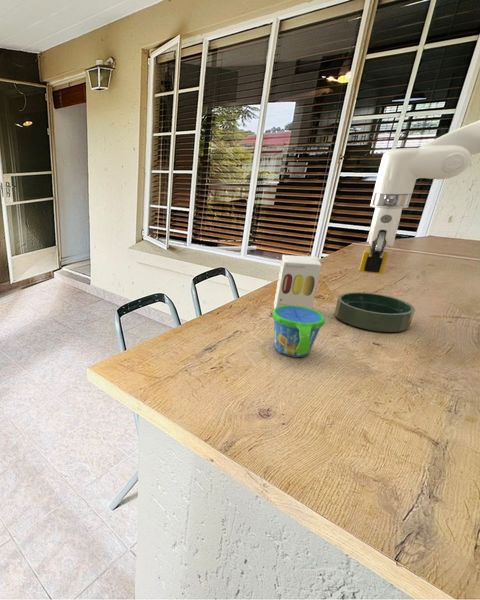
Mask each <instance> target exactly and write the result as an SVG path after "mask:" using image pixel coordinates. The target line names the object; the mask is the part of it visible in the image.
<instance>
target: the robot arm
mask: <svg viewBox="0 0 480 600" xmlns="http://www.w3.org/2000/svg"><path fill="white" fill-rule="evenodd" d="M476 154H480V119H479V120H477V121H476V120H475V121H474V122H472V123H469V124H467V125H464V126H461V127H458V128H456V129H453V130H451V131H449V132H447V133H444V134H443V135H440V136H439V137H437V138H435V139H432V140H431V141H428V142H426V143H424V144H422V145H421V146H419V147H403V148H401V147H399V148H391V149H388V150H386V151H385V152H384V153H383V155H382V157H381V161H380V165H379V168H378V172H377V175H376V176H377V177H376V181H375V185H374V188H373V192H372V196H371V201H370V204H369V207H371V208H374V211H373V216H372V220H371V224H370V229H369V235H368V245H369V246H370V247H369V250H370V254H369V257H367V260H366V264H365V268H364V271H367V272H376V273H378V272H379V271H380V267H381V263H382V260H383V258H382V256H383V253H384V252H385V249H386V247H388V248H389V249H390V248H393V247H394V244H395V239H396V235H397V232H398V229H399V225H400V222H401V221H400V220H401V216H402V211H403V209H407V208H409V204H410V203H411V198H412V195H413V191H414V188H415V185H416V182H417V179H428V180H445V179H446V180H447V179H451V178H454V177H457V176H458V175H460V174H463V172H465V171H466V170H467V169H468V168H469V166H470V165H471V161H472V156H473V155H476Z"/></svg>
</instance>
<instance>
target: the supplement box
mask: <svg viewBox="0 0 480 600" xmlns="http://www.w3.org/2000/svg"><path fill="white" fill-rule="evenodd" d="M281 256H282V257H281V261H280V267H279V273H278V279H277V282H276V283H277V284H276V289H275V290H276V291H275V295H274V299H273V300H274V301H273V310H274V309H275V308H277V307H280V306H301V307H306V308H310V309H313V306H314V302H315V297H316V292H317V288H318V283H319V279H320V274H321V270H322V269H321V268H322V263H321V262H320V261H321V260H320V259H319V258H318V256H315V255H314V256H311V255H309V256H308V255H307V256H306V255H294V254H293V255H290V254H282V255H281Z"/></svg>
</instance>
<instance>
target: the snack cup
mask: <svg viewBox="0 0 480 600" xmlns="http://www.w3.org/2000/svg"><path fill="white" fill-rule="evenodd" d="M272 318H273V346H274V348H275V350H277V352H278V353H279V354H283V355H284V356H287V357H290V358H302V357H306V356H308V355H309V354H310V353H311V350H312V349H313V346H314V343H315V342H316V339H317V336H318V335H319V332H320V329H321V328H322V327H323V326H324V325H325V323H326V321H325V320H326V319H325V316H324V314H322V312H320V311H318V310H315V309H313V308H312V309H310V308H306V307H301V306H280V307H277V308H275V309H274V308H273V310H272Z"/></svg>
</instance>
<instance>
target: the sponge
mask: <svg viewBox="0 0 480 600" xmlns="http://www.w3.org/2000/svg"><path fill="white" fill-rule="evenodd" d="M369 254H370V249H369V250H368V249H364V250H363V254H362V257H361V258H362V259H361V261H360V265H359V270H358V272H359V273H366V274H375V275H383V274H384V271H385V267H386V264H387V260H388V257H389V251H384V253H383V256H382V258H383V260H382V263H381V267H380V271H379V272H378V273H376V272H367V271H364V268H365V264H366V260H367V257H369Z"/></svg>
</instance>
